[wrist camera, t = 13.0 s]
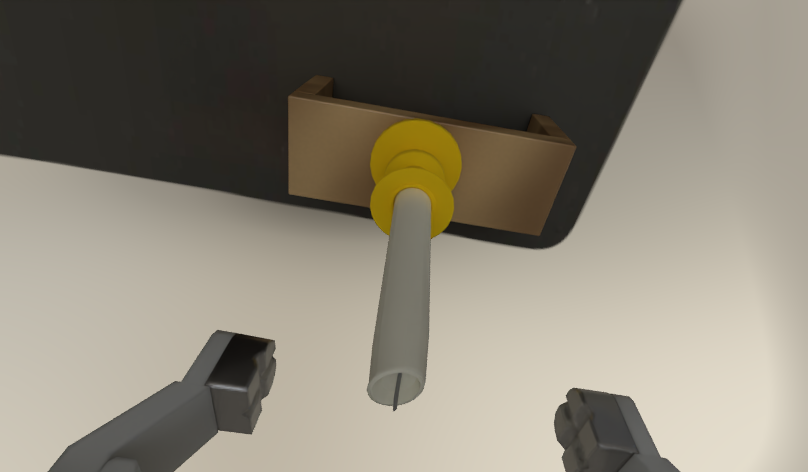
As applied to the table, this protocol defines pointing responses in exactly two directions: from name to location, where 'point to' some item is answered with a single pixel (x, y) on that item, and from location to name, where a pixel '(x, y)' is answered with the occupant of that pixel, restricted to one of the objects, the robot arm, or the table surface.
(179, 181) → the table surface
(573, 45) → the table surface
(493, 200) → the shelf
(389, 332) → the candle
